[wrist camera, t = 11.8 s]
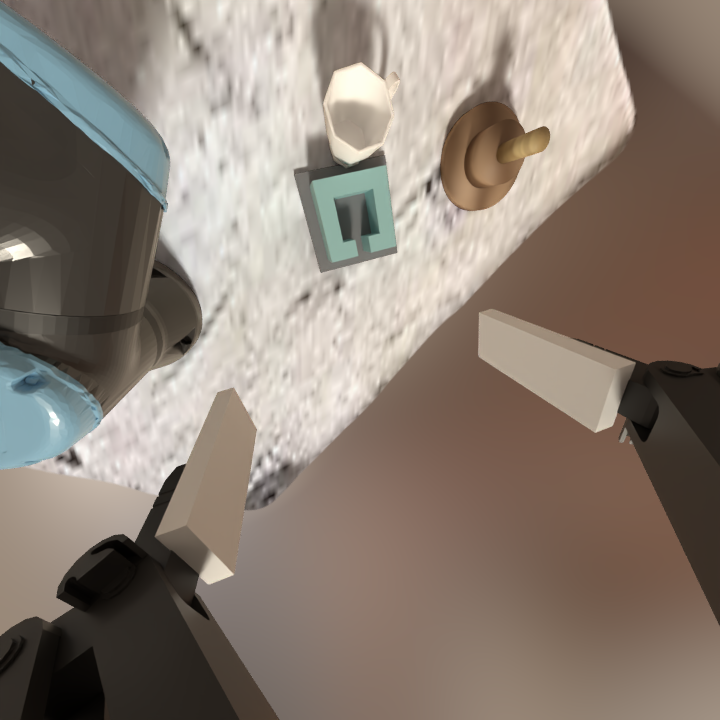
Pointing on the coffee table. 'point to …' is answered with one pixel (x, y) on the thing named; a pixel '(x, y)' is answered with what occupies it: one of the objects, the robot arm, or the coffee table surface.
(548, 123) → the coffee table surface
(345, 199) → the mat
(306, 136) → the coffee table surface
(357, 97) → the cup
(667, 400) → the robot arm
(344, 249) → the link
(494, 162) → the stand
